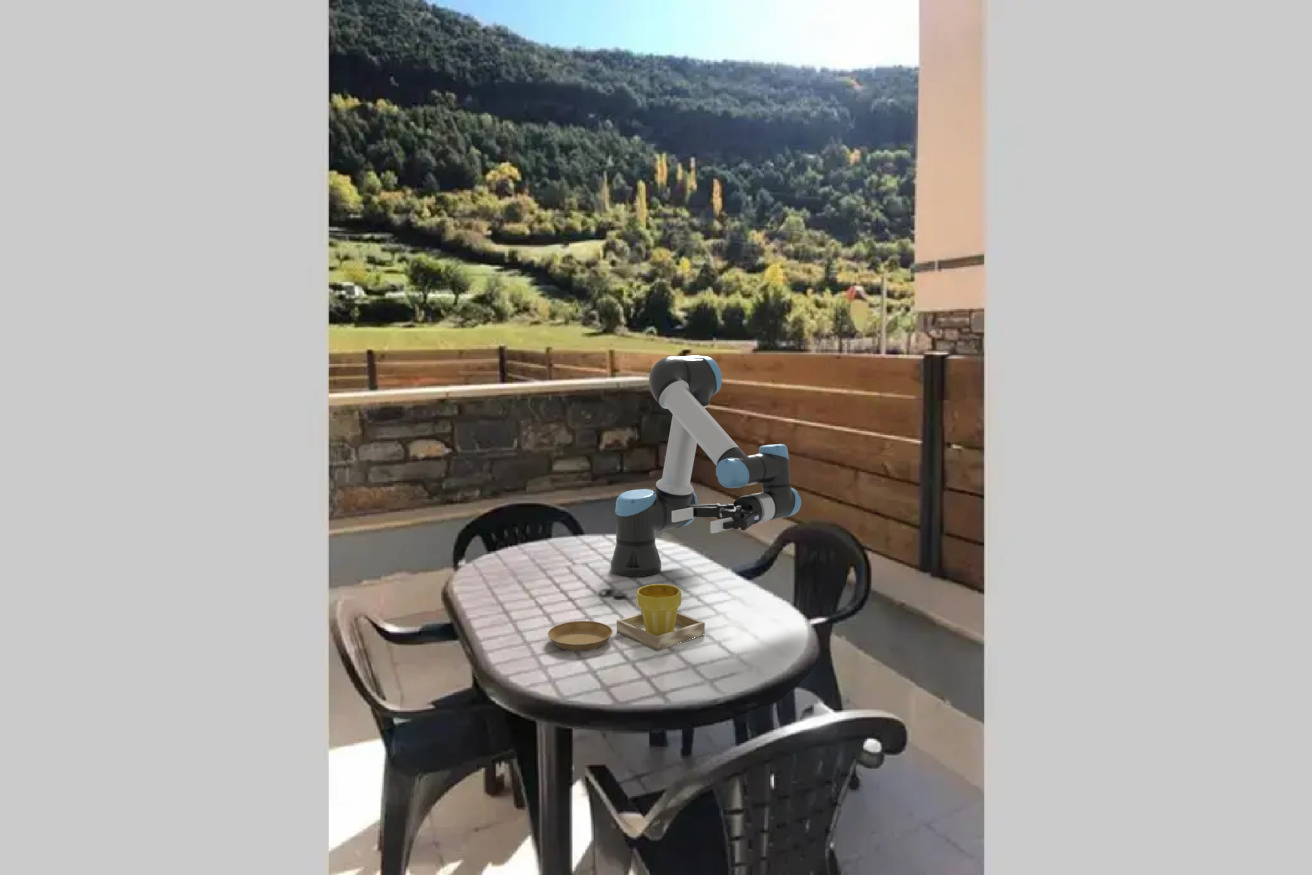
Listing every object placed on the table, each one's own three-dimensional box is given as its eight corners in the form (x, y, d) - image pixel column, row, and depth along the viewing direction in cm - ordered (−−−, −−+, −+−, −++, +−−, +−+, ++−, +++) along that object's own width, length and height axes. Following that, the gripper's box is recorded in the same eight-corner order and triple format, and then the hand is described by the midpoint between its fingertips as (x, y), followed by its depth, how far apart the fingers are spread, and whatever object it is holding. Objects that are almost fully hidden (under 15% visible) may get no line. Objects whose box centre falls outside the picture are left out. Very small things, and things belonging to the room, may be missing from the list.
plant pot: (633, 637, 184) (632, 596, 182) (641, 621, 194) (641, 582, 192) (677, 640, 182) (677, 598, 181) (684, 624, 192) (684, 584, 191)
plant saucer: (553, 630, 191) (553, 620, 190) (615, 631, 190) (615, 620, 190) (542, 655, 176) (542, 643, 176) (609, 655, 175) (609, 644, 175)
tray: (663, 618, 198) (663, 606, 197) (704, 634, 187) (704, 622, 186) (616, 632, 188) (616, 620, 188) (656, 651, 177) (656, 638, 177)
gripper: (790, 533, 195) (728, 548, 181) (718, 514, 214) (657, 527, 200) (790, 503, 194) (729, 516, 180) (718, 487, 213) (657, 497, 199)
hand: (691, 522), depth 190 cm, fingers open, 13 cm apart
